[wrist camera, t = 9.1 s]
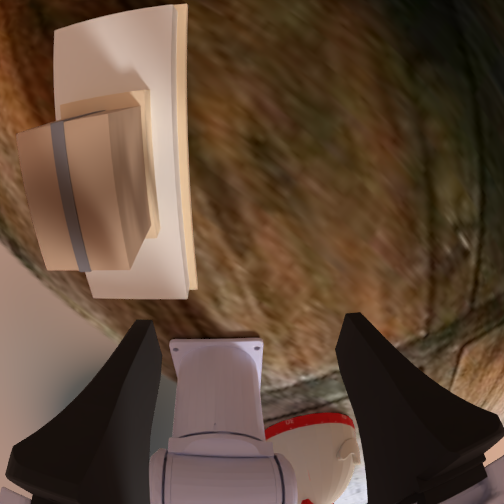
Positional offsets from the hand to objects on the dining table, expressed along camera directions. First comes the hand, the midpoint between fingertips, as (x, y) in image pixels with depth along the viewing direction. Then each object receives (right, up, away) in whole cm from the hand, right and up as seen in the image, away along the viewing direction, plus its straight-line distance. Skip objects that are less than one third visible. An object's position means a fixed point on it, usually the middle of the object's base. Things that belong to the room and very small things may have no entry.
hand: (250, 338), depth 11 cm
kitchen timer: (+8, -23, +26) cm, 35 cm away
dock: (-8, +9, +6) cm, 13 cm away
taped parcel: (-8, +8, +4) cm, 12 cm away
